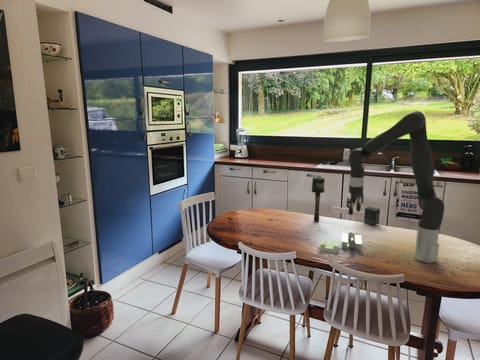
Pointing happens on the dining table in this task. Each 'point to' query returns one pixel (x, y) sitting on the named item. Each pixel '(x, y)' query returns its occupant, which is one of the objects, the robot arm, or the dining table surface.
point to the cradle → (329, 246)
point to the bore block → (346, 242)
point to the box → (371, 215)
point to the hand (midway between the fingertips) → (354, 212)
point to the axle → (351, 241)
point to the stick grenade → (317, 194)
